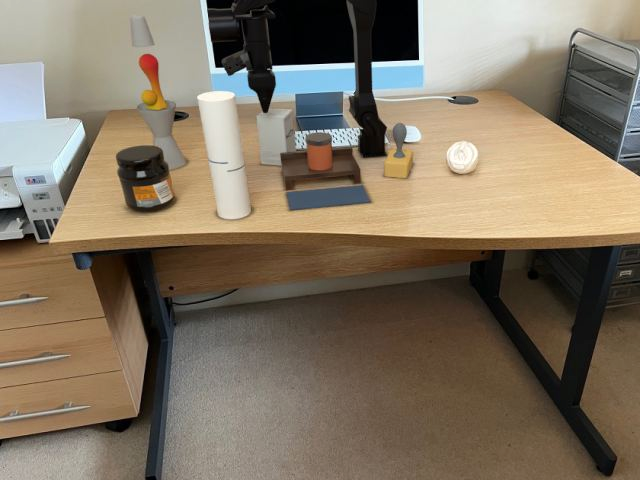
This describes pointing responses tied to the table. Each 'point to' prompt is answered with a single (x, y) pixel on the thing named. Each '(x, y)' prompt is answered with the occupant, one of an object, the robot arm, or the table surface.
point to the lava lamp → (155, 98)
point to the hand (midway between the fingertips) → (264, 107)
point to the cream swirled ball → (462, 157)
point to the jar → (319, 151)
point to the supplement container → (145, 178)
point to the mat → (327, 197)
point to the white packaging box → (275, 134)
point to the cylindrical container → (225, 153)
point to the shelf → (298, 169)
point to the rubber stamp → (398, 155)
